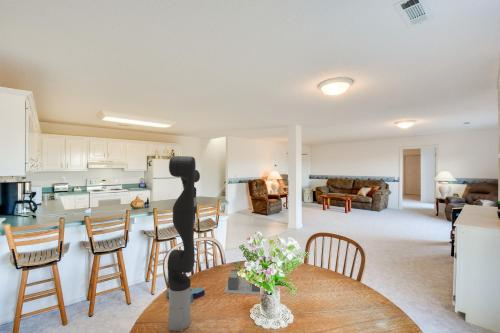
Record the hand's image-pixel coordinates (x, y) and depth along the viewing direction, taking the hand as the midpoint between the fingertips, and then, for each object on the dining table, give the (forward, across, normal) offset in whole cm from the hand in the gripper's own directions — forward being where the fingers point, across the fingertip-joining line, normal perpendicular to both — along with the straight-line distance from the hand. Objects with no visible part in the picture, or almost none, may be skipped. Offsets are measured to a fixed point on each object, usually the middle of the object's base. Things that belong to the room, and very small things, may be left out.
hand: (189, 233), depth 141 cm
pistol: (+33, -6, -1) cm, 33 cm away
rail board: (+32, +6, -32) cm, 46 cm away
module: (+31, +6, -32) cm, 45 cm away
